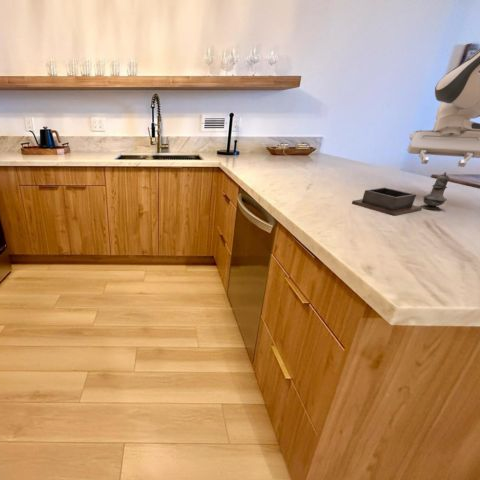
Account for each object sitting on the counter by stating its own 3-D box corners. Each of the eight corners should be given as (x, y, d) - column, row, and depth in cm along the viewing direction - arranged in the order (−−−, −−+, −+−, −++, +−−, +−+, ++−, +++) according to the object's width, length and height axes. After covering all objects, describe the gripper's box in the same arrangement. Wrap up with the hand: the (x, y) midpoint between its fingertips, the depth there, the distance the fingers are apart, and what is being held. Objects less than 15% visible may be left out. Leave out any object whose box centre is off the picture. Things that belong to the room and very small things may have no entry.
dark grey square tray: (421, 210, 94) (427, 195, 92) (394, 215, 89) (399, 200, 87) (377, 199, 106) (382, 185, 104) (351, 203, 101) (355, 189, 99)
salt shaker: (423, 209, 94) (438, 173, 89) (416, 204, 99) (429, 169, 94) (446, 211, 93) (462, 174, 88) (437, 206, 98) (452, 171, 93)
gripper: (414, 123, 102) (406, 155, 99) (496, 125, 92) (490, 161, 88) (408, 136, 107) (401, 166, 104) (485, 139, 97) (479, 173, 94)
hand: (442, 164), depth 96 cm, fingers open, 8 cm apart
